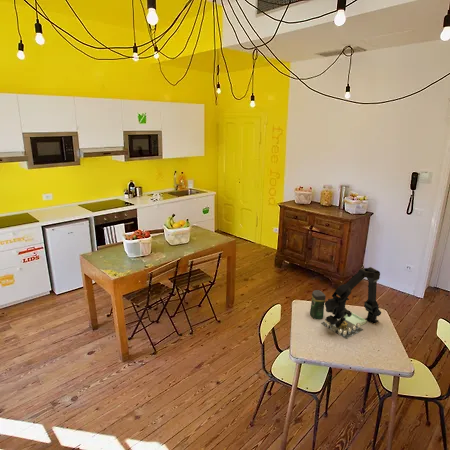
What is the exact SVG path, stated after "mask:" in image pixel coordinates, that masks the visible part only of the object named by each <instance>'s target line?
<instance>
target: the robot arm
mask: <svg viewBox="0 0 450 450" xmlns="http://www.w3.org/2000/svg"><path fill="white" fill-rule="evenodd" d="M380 276H381V272H380V271H379V270H377V269H376V268H374V267H371V266H369V267H364V268H360V269H359V270H357V272H356V273H355V274H354V276H352V277H351V278H350V279H348V281H347V282H346V283H344V284H341V285H339V286H338V287H337V288H336V289H335V291H334V292H333V293H332V295H331V298H328V299H327V300H325V303H324V308H325V312H326V313H331V314H330V315H328V316H326V317H325V319H326V321H328V322H329V323H331V324H336V328H339V327H340V325H341V324H342V323H343V322H344V320H346V319H345V318H344V316H346V314H347V315H348V317H350V316H351V315H352V313H353V312H352V311H351V310H348V309H347V308H346V303H347V301H349V298H348V297H350V295H351V294H352V290H353V289H354V288H356V286H357V285H359V284H360V283H361V282H362V281H363V280H364V278H365V279H367V283H368V285H367V300H366V301H364V303H363V305H364V306H363V307H364V309H365V311H366V312H368V313H367V317H366V318H364V319H365V320H367V322H368V323H371V324H373V325H374V324H376V323H378V322H379V320H378V317H380V316H381V314H382V311H381V310H380V308H379V303H378V301H377V287H378V286H377V283H378V281H379V280H380V279H381V277H380ZM351 312H352V313H351ZM334 315H335V316H334Z"/></svg>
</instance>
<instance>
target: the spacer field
mask: <svg viewBox="0 0 450 450" xmlns="http://www.w3.org/2000/svg"><path fill="white" fill-rule="evenodd" d="M333 316H335V315H333ZM344 321H345V322H346V323H348V326H347V328H344V329H343V328H341V327H339V328H336V324H331V323H329V322H328V321H326V318H325V319H324V321H323V322H321V323H320V324H321V325H323V326H324V327H326V328H327V329H329V330H331V331H332V332H334V333H336V334H338V335H339V336H340V337H342V338H343V339H345V340H347V339H349V338H352V337H354V336H355V335H358V334H359V333H361V332H362V331H364V329H362V328H361V326H360V323H357V324H356V325H354V324H352V323H351V322H349V321H347V320H344Z"/></svg>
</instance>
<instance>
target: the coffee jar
mask: <svg viewBox="0 0 450 450" xmlns="http://www.w3.org/2000/svg"><path fill="white" fill-rule="evenodd" d="M326 297H327V296H326V294H325V293H324V292H323V291H321V290H319V289H315V290H313V291H312V293H311V303H310V309H309V315H310V316H311V318H312V319H314V320H323V318H324V313H325V302H326Z"/></svg>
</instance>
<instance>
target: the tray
mask: <svg viewBox="0 0 450 450" xmlns="http://www.w3.org/2000/svg"><path fill="white" fill-rule="evenodd" d="M350 312H351V313H352V315H351V316H350V317H348V315H347V314H346V316H344V318H345V319H346V320H347V321H349V322H351V323H352V324H354V325H356V324H357V323H360V327H361V326H363V325H364V324H367V322H368V321H367V320H365V319H366V318H364V317H362V316H360V315H358V314H356V313H354V312H352V311H350Z"/></svg>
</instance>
